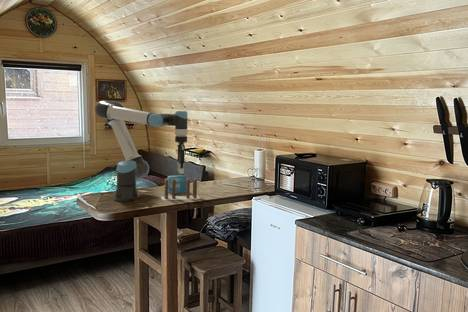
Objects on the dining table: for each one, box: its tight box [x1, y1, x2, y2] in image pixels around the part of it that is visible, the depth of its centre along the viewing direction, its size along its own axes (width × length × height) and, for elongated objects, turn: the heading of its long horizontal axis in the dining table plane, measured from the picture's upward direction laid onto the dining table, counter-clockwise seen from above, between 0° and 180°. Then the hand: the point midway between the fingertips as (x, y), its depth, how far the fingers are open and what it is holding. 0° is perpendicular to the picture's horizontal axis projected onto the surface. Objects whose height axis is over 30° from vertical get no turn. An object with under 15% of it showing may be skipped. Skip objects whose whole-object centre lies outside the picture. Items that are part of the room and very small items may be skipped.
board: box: [160, 195, 201, 201], centre depth 268 cm, size 24×10×1 cm, turn 106°
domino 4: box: [185, 177, 191, 198], centre depth 268 cm, size 2×5×12 cm, turn 16°
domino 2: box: [171, 178, 176, 199], centre depth 266 cm, size 2×5×12 cm, turn 16°
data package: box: [166, 174, 187, 194], centre depth 284 cm, size 12×4×12 cm, turn 119°
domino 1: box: [164, 178, 169, 199], centre depth 265 cm, size 2×5×12 cm, turn 16°
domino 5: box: [192, 177, 198, 198], centre depth 270 cm, size 2×5×12 cm, turn 16°
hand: (180, 172), depth 266 cm, fingers closed on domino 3, 5 cm apart
